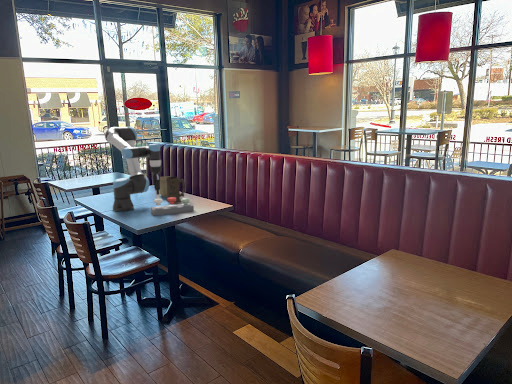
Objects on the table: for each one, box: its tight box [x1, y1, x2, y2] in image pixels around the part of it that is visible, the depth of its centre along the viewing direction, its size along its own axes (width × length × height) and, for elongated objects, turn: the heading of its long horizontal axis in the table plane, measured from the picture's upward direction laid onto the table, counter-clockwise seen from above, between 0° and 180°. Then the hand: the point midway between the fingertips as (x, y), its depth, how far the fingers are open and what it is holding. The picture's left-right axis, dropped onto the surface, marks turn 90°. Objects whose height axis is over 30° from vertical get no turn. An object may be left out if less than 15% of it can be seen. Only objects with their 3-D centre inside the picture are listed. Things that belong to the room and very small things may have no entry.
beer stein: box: [166, 176, 186, 203], centre depth 308 cm, size 15×11×20 cm
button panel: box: [150, 202, 195, 217], centre depth 273 cm, size 29×10×4 cm, turn 115°
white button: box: [153, 198, 163, 207], centre depth 268 cm, size 6×6×4 cm
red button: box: [167, 197, 176, 205], centre depth 272 cm, size 6×6×4 cm
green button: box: [180, 197, 191, 204], centre depth 276 cm, size 6×6×4 cm
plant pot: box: [160, 176, 168, 197], centre depth 328 cm, size 15×15×16 cm
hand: (158, 198), depth 267 cm, fingers closed
